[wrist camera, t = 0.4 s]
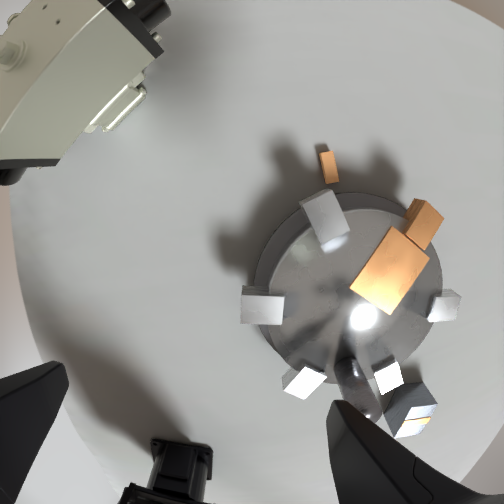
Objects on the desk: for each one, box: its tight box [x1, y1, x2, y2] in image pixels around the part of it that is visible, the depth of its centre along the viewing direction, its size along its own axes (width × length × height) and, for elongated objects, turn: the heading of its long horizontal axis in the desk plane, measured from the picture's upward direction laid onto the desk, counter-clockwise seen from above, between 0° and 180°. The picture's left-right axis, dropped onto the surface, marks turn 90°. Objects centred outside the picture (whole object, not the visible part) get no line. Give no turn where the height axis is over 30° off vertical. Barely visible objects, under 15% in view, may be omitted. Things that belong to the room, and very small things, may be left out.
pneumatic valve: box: [0, 0, 171, 186], centre depth 11 cm, size 6×12×12 cm, turn 130°
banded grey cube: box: [384, 382, 437, 438], centre depth 22 cm, size 4×3×4 cm
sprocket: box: [241, 189, 461, 423], centre depth 16 cm, size 14×15×7 cm
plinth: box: [254, 151, 406, 352], centre depth 20 cm, size 16×14×1 cm
